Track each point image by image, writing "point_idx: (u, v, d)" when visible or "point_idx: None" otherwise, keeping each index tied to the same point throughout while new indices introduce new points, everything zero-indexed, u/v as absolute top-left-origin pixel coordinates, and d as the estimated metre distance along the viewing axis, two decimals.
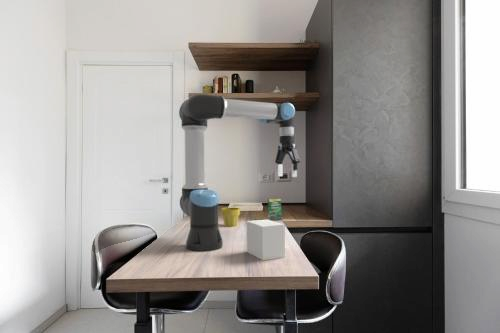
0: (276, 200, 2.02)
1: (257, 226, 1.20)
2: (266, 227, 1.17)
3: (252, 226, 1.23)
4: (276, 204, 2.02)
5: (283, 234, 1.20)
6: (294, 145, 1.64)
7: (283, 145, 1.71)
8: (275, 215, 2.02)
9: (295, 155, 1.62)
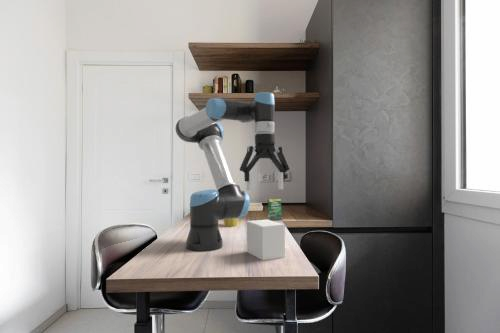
0: (276, 200, 2.02)
1: (257, 226, 1.20)
2: (266, 227, 1.17)
3: (252, 226, 1.23)
4: (276, 204, 2.02)
5: (283, 234, 1.20)
6: (248, 147, 1.21)
7: None
8: (275, 215, 2.02)
9: (243, 161, 1.20)
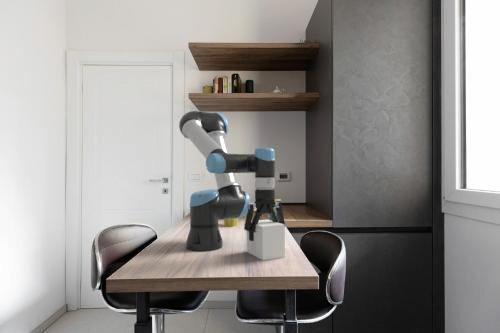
0: (276, 200, 2.02)
1: (257, 226, 1.20)
2: (266, 227, 1.17)
3: None
4: None
5: (283, 234, 1.20)
6: (249, 206, 1.21)
7: None
8: None
9: (246, 220, 1.21)
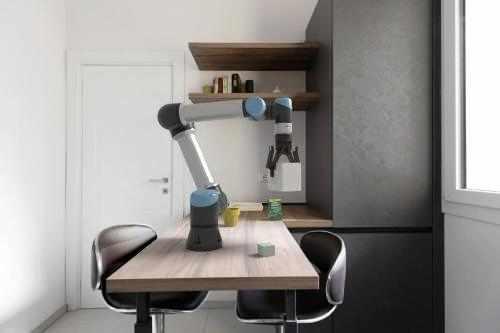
0: (276, 200, 2.02)
1: (277, 164, 1.39)
2: (285, 163, 1.36)
3: None
4: (276, 204, 2.02)
5: (300, 171, 1.39)
6: (270, 147, 1.41)
7: None
8: (275, 215, 2.02)
9: (268, 160, 1.41)
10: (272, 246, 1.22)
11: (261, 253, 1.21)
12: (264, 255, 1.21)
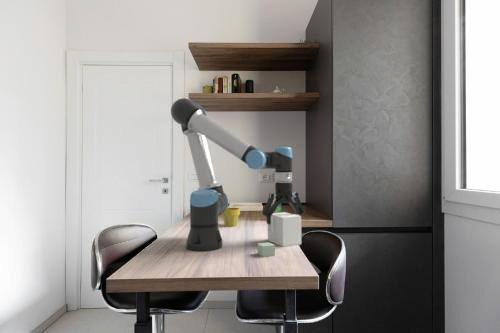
0: None
1: (277, 217, 1.39)
2: (286, 218, 1.36)
3: (273, 217, 1.43)
4: None
5: (300, 224, 1.40)
6: (270, 194, 1.41)
7: None
8: None
9: (265, 206, 1.41)
10: (272, 246, 1.22)
11: (261, 253, 1.21)
12: (264, 255, 1.21)
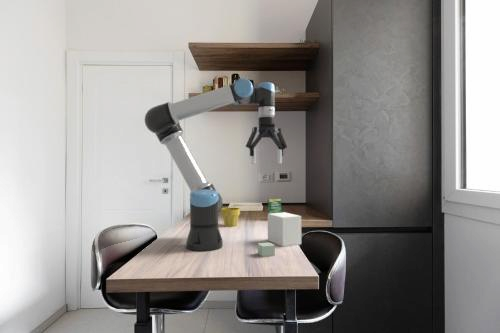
0: (276, 200, 2.02)
1: (277, 217, 1.39)
2: (286, 218, 1.36)
3: (273, 217, 1.43)
4: (276, 204, 2.02)
5: (300, 224, 1.40)
6: (253, 128, 1.46)
7: None
8: None
9: (249, 139, 1.46)
10: (272, 246, 1.22)
11: (261, 253, 1.21)
12: (264, 255, 1.21)
